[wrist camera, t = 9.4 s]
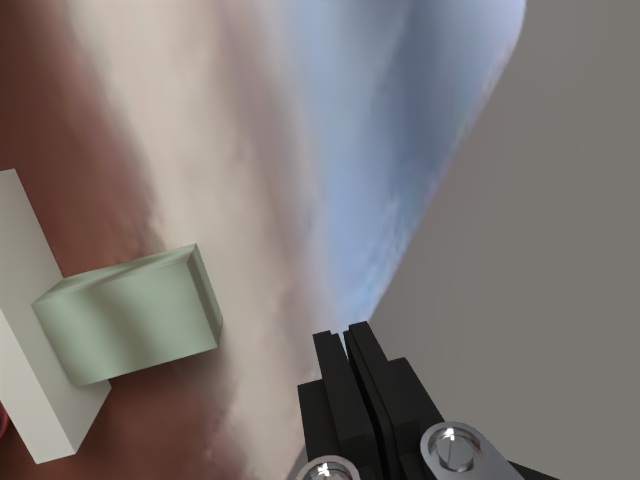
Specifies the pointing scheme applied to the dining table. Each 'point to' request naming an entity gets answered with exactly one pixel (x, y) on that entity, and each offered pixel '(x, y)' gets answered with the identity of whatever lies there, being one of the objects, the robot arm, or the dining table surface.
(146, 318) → the block
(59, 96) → the dining table surface
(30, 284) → the board
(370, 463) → the robot arm
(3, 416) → the plant pot
